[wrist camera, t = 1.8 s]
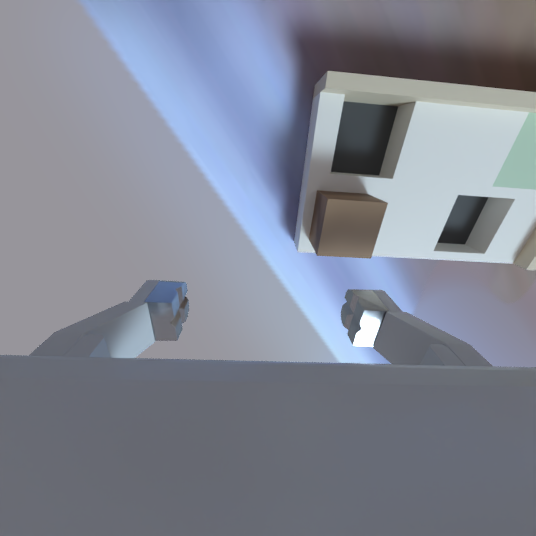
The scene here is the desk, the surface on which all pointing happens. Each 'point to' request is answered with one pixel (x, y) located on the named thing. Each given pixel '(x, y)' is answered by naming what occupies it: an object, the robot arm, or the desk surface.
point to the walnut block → (346, 224)
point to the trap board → (427, 165)
